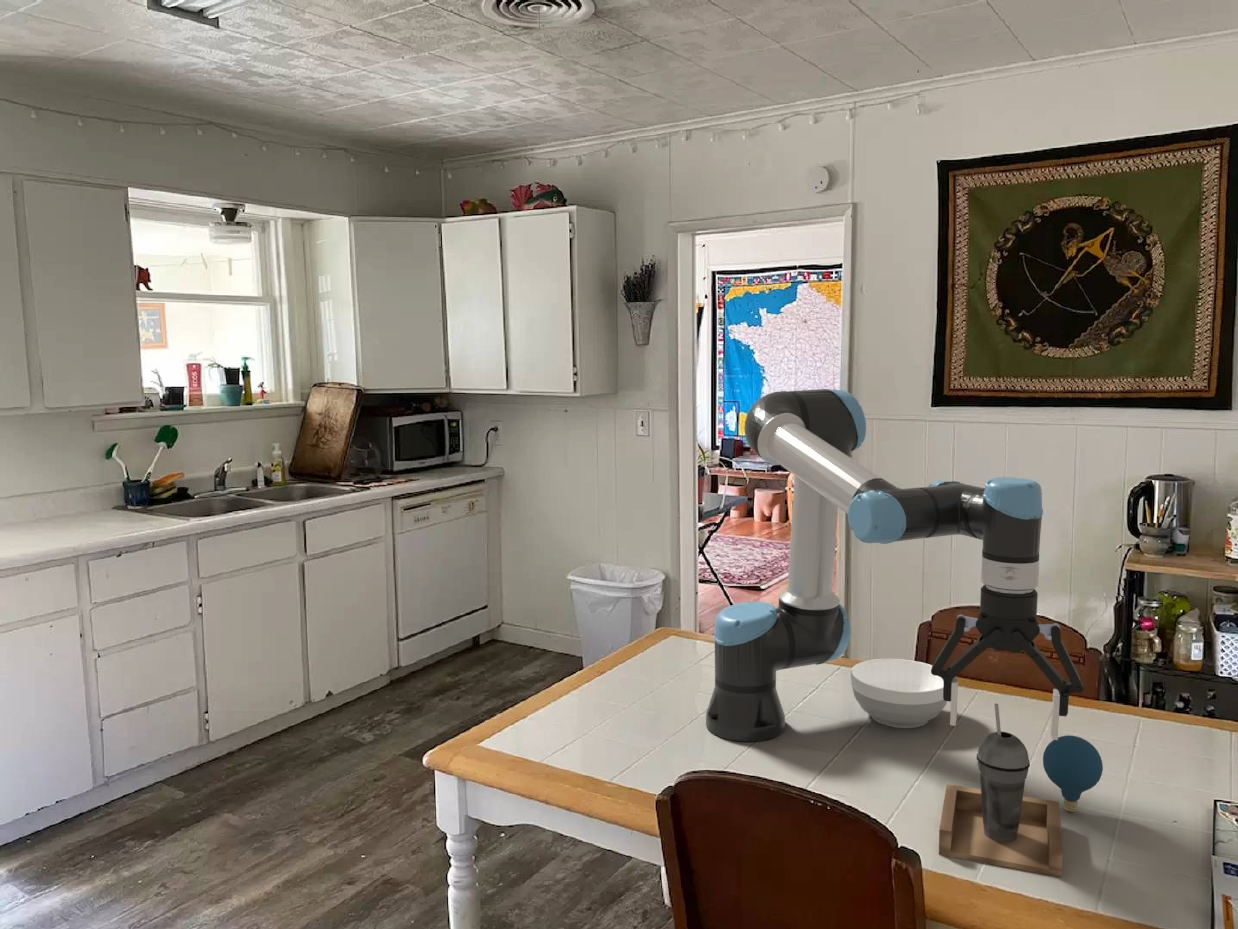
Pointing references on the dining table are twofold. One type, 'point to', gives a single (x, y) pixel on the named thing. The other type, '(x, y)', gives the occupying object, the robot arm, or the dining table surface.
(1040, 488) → the robot arm
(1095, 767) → the light bulb
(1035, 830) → the u rest
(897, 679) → the bowl
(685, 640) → the dining table surface
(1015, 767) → the beverage cup
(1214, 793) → the dining table surface
